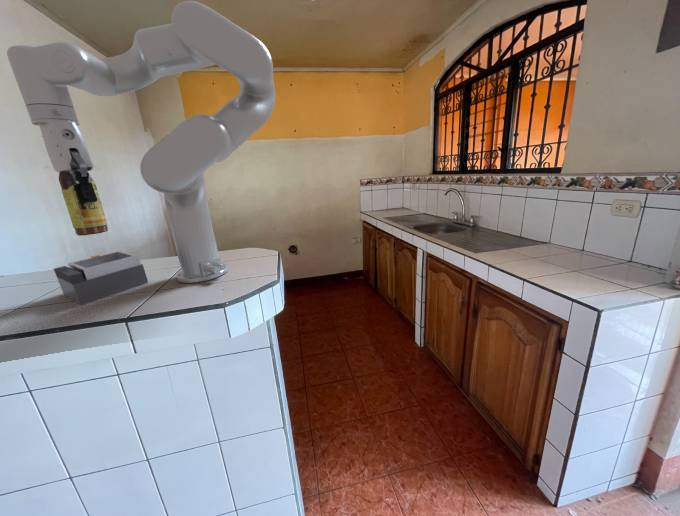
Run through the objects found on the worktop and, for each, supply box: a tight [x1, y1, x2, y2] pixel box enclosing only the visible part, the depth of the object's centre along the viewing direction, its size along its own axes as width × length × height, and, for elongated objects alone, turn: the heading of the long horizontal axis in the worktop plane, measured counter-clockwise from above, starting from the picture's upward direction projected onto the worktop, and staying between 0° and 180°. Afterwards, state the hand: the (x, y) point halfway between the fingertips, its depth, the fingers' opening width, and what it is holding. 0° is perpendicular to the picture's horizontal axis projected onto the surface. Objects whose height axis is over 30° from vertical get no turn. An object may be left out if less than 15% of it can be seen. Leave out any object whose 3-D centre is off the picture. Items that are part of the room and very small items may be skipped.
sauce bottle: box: [58, 168, 109, 236], centre depth 67 cm, size 6×6×20 cm
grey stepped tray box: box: [53, 250, 149, 306], centre depth 72 cm, size 12×14×8 cm
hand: (83, 201), depth 67 cm, fingers closed on sauce bottle, 6 cm apart
